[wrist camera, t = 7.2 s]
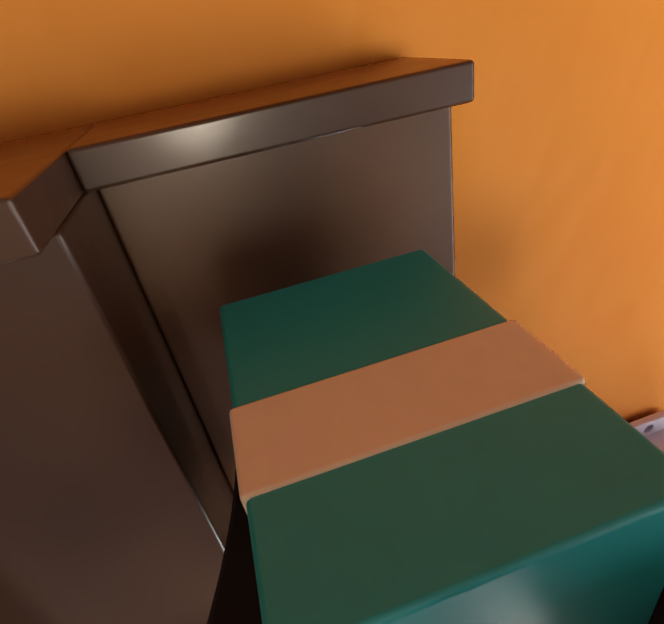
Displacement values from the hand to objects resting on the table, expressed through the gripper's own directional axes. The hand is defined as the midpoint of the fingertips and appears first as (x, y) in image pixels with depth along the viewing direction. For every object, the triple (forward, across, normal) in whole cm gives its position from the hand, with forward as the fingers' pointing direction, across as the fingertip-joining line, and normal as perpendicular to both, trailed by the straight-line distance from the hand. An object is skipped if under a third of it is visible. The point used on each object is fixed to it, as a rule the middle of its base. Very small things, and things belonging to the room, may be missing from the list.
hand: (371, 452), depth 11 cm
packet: (+1, 0, 0) cm, 1 cm away
